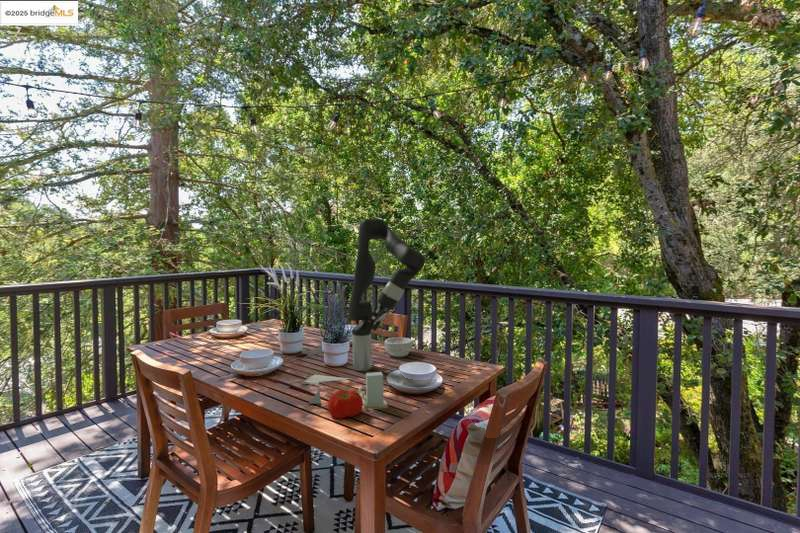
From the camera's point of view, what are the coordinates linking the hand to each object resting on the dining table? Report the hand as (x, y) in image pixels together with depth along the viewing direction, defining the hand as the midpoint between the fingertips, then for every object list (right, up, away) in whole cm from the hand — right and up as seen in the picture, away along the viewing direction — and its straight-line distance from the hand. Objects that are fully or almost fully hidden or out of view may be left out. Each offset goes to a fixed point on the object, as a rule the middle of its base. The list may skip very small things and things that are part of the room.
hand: (370, 330), depth 164 cm
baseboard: (-15, -27, +20) cm, 37 cm away
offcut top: (0, -25, +5) cm, 26 cm away
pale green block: (+2, -28, -4) cm, 28 cm away
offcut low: (0, -27, +5) cm, 27 cm away
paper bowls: (+11, -23, +62) cm, 67 cm away
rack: (+1, -28, 0) cm, 28 cm away
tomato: (-9, -30, -12) cm, 33 cm away
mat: (-19, -28, +4) cm, 34 cm away
